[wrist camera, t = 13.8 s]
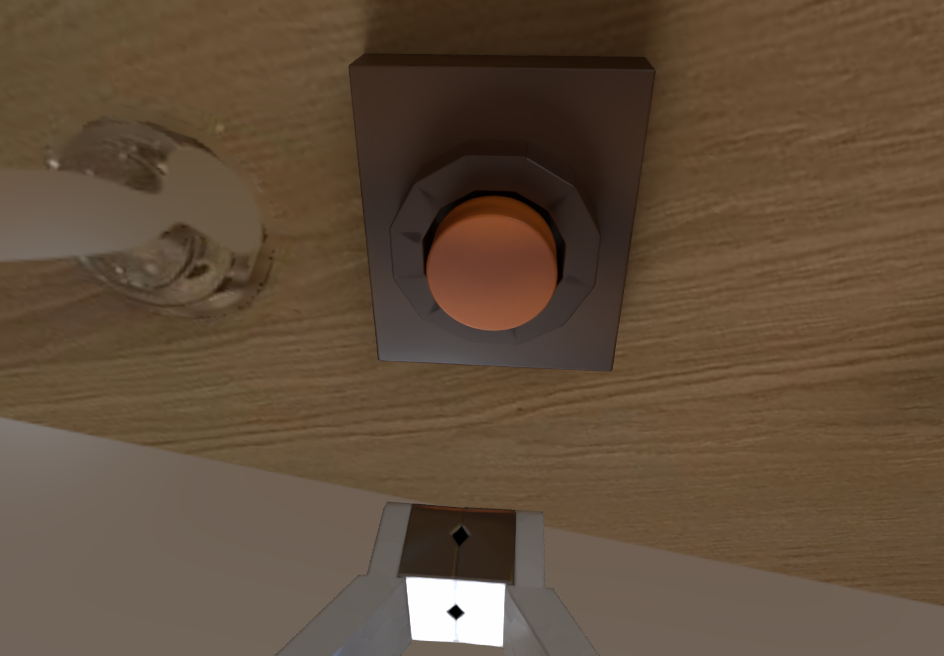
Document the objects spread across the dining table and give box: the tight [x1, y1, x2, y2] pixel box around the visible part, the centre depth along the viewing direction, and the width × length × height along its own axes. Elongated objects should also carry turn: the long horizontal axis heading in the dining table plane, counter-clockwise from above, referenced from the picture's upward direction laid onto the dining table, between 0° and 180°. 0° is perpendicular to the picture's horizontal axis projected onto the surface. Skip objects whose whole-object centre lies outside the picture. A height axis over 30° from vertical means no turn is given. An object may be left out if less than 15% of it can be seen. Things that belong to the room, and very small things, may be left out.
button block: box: [349, 54, 656, 372], centre depth 24 cm, size 12×10×4 cm
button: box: [426, 195, 558, 331], centre depth 22 cm, size 4×4×2 cm
